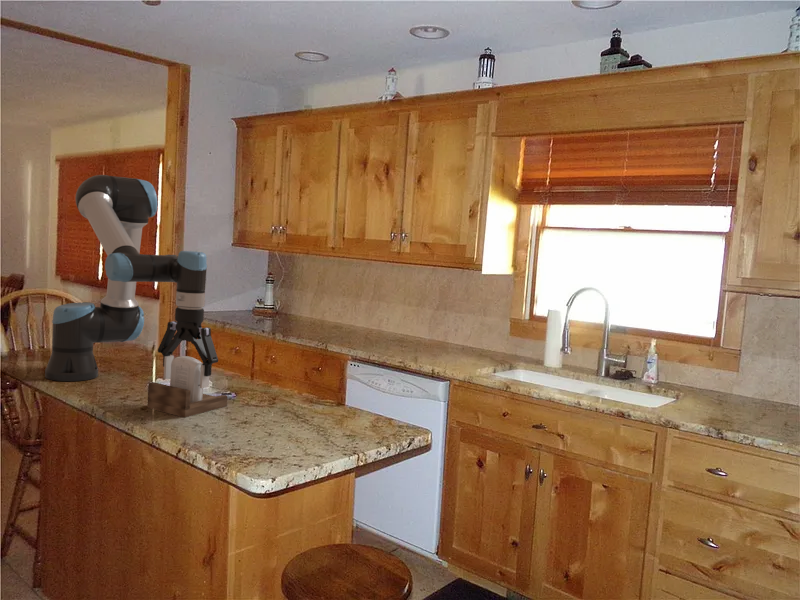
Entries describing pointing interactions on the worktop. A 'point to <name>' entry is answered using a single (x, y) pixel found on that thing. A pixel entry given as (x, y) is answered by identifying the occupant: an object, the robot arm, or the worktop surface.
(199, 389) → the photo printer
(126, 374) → the worktop surface
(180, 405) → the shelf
